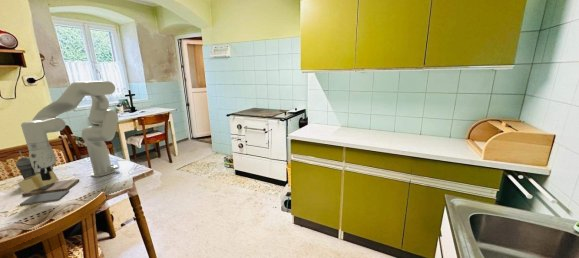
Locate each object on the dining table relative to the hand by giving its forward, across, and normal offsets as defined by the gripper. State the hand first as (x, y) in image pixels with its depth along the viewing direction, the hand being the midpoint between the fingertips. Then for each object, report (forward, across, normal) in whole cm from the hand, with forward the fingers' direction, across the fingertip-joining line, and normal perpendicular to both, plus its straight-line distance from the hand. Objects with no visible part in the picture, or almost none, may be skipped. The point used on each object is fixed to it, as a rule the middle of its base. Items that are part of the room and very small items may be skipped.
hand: (48, 178), depth 121 cm
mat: (+11, 0, +4) cm, 12 cm away
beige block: (+3, 0, +3) cm, 5 cm away
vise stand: (+11, +13, +8) cm, 19 cm away
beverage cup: (+11, +28, +27) cm, 40 cm away
